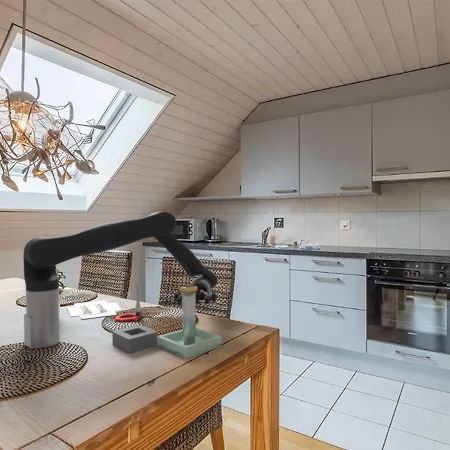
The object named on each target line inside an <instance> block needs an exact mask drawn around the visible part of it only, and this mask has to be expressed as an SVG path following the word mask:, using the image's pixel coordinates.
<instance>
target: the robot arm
mask: <svg viewBox="0 0 450 450" xmlns="http://www.w3.org/2000/svg"><path fill="white" fill-rule="evenodd" d="M176 226H177V220H176V217H175V216H174V215H173V213H171V212H168V211H166V210H165V211H164V210H163V211H162V210H161V211H157V212H151V213H150V214H149V215H148V216H145V217H142V218H136V219H126V220H119V221H118V220H117V221H111V222H106V223H102V224H98V225H94V226H91V227H89V228H86V229H85V230H82V231H79V232H77V233H74V234H71V235H69V234H68V235H64V236H58V237H49V238H48V237H42V236H41V237H39V236H38V237H35V238H34V237H33V238H32V239H30V240H29V241H28V242H26V244H25V246H24V248H23V256H22V257H23V279H24V283H25V311H26V312H25V313H24V314H23V324H24V325H23V329H24V330H23V332H24V335H23V337H24V338H23V340H24V346H26V347H27V348H28V349H29V350H33V349H35V350H36V349H43V348H49V347H53V346H55V345H57V344H59V343H60V336H61V335H60V280H59V277H58V275H57V266H58V265H59V264H62V263H64V262H67V261H70V260H73V259H76V258H79V257H84V256H87V255H89V256H90V255H94V254H98V253H99V254H100V253H103V252H109V251H112V250H115V249H119V248H122V247H124V246H128V245H130V244H133V243H137V242H138V241H141V240H144V239H148V238H154V239H155V240H157V242H158V243H159V244H160V245H161V246H163V248H165V249H166V251H168V252H169V254H170V255H171V256H172V257H173V258H174V259H175V261H176V262H177V263H178V264H179V265H180V267H181V268H182V269H183V271H184V273H186V275H187V276H188V277H195V276H196V278H194V279H193V280H192V281H191V285H193V286H197V291H196V292H195V305H201V304H203V303H204V305H207V306H208V304H210V303H211V302H212V303H216V302H217V291H216V290H213V291H211V290H212V289H213V288H215V287H216V286H217V285H218V277H217V275H216V274H215V273H214V272H213V271H212V270H210V269H208V268H207V267H206V266H204V264H203V263H201V262H200V260H199V259H198V258H197V256H196V255H195V253H194V252H193V251H192V250H191V249H190V248H189V247H187V246H186V245H185V244H183V243H182V242H181V241H180V240H179V239H177V237H176V236H175V235H174V234H173V233H172V232H173V231H174V230H175V229H176ZM197 275H199V276H198V277H197ZM173 296H174V297H173V302H175V303H177V304H178V305H180V306H181V305H182V292H181V291H180V290H177V291H176V292H175V293H173Z"/></svg>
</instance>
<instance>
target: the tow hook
mask: <svg viewBox="0 0 450 450" xmlns="http://www.w3.org/2000/svg"><path fill="white" fill-rule="evenodd" d="M135 300H136V301H135V312H134V313H133V312H132V313H131V312H129V313H123V314H119V315H118V314H117V315H115V317H114V320H115V322H120V323H122V322H132V321H134V322H138V321H139V320H141V318H142V317H143V316H144V313H143V312H142V310H141V303H140V289H139V283H138V282H136V283H135ZM127 317H128V318H127Z"/></svg>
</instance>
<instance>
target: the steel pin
mask: <svg viewBox="0 0 450 450" xmlns="http://www.w3.org/2000/svg"><path fill="white" fill-rule="evenodd" d="M179 288H180V289H179V291H181V292H182V304H181V305H182V313H181V315H182V321H181V322H182V328H181V330H182V336H183V344H184V345H191V344H194V343H196V328H197V327H196V314H197V313H196V304H195V292H196V291H197V286H193V285H192V284H191V285H190V284H189V285H188V284H187V285H182V286H180V287H179Z"/></svg>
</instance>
